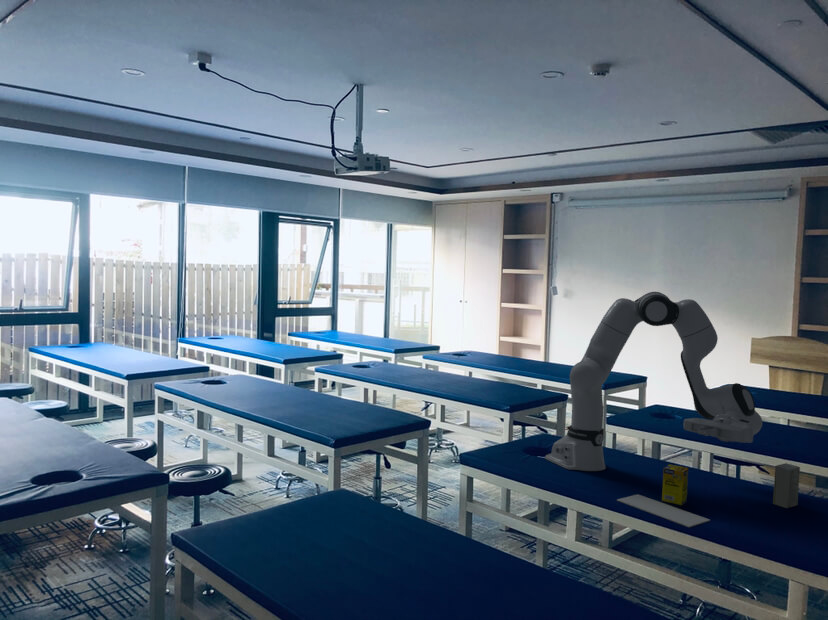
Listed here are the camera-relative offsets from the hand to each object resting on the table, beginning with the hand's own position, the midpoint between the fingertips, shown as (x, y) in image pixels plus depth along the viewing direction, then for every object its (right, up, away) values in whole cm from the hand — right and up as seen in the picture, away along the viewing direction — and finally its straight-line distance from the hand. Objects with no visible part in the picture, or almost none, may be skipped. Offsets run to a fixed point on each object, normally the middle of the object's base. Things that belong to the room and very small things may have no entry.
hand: (702, 432), depth 196 cm
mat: (-18, -20, -13) cm, 30 cm away
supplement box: (-12, -21, -6) cm, 24 cm away
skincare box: (+23, -22, -5) cm, 32 cm away
